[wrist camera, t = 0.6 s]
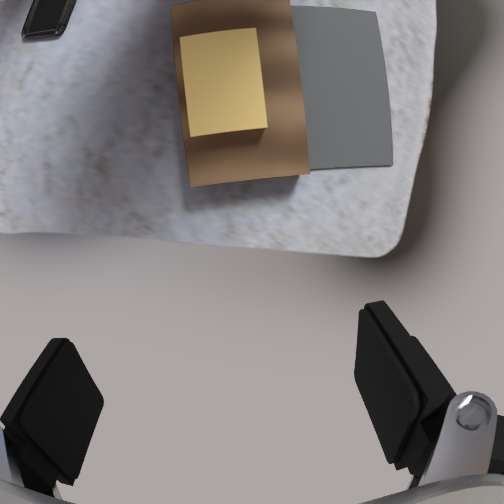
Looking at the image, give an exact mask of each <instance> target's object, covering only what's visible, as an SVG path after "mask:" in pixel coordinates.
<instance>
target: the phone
mask: <svg viewBox="0 0 504 504" xmlns="http://www.w3.org/2000/svg"><path fill="white" fill-rule="evenodd" d="M75 3H76V0H33V3H32V5H31V8H30V10H29V13H28V15H27V18H26V21H25V24H24V26H23V29H22V33H21V36H22V37H23V38H25V39H32V38H40V37H50V36H59V35H61V34H62V33H63V32H64V31H65V29H66V27H67V24H68V21H69V18H70V16H71V13H72V10H73V8H74V5H75Z"/></svg>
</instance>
